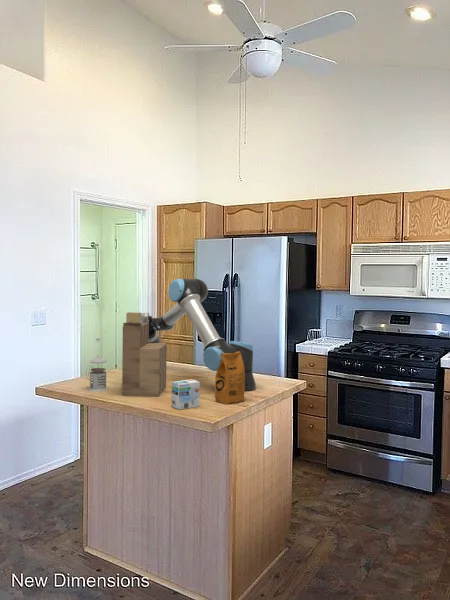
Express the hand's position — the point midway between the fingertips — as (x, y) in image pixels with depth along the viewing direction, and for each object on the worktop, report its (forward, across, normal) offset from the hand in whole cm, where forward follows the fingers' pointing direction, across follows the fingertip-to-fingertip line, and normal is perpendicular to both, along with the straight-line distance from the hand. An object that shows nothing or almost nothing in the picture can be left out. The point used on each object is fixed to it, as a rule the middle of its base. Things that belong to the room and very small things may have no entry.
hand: (141, 313), depth 258 cm
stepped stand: (-8, -4, -37) cm, 38 cm away
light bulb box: (+14, -27, -50) cm, 59 cm away
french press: (-9, +19, -37) cm, 43 cm away
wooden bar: (+2, 0, -6) cm, 6 cm away
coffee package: (+4, -46, -44) cm, 64 cm away
